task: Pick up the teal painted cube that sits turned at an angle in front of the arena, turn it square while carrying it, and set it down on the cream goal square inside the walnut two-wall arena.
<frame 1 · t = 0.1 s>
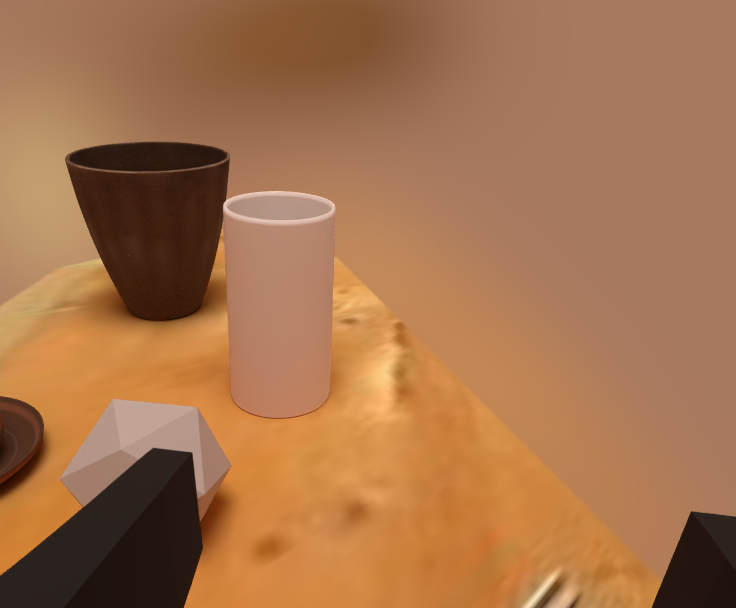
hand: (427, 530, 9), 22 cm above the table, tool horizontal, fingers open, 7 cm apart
die: (156, 524, 38), on the table
cup: (281, 392, 53), on the table
plant pot: (164, 307, 66), on the table
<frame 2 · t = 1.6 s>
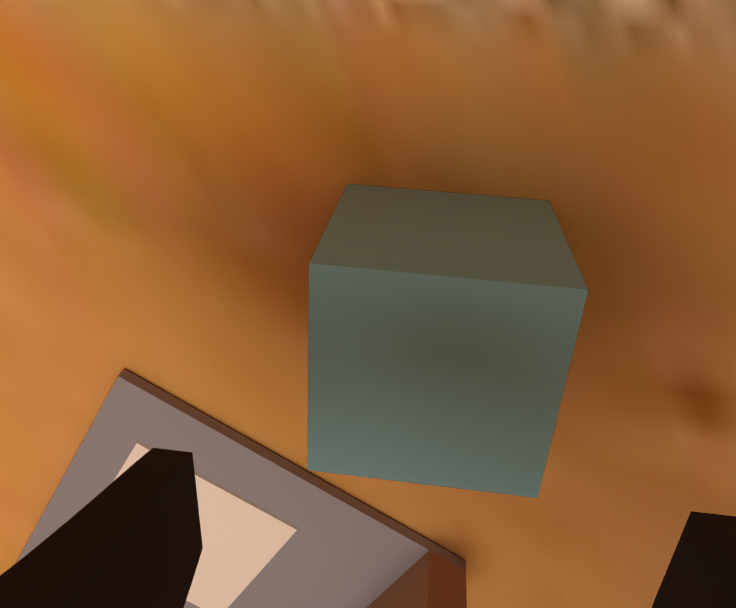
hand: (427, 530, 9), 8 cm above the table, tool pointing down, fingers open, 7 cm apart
arena: (206, 587, 24), on the table
teal cube: (436, 280, 17), on the table
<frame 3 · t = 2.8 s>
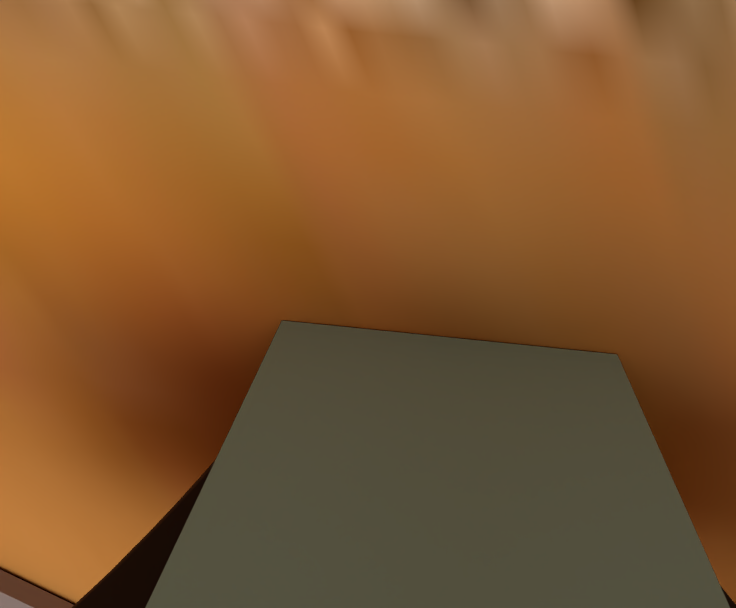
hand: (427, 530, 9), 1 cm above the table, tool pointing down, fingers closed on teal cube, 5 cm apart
teal cube: (429, 463, 10), on the table, touching gripper
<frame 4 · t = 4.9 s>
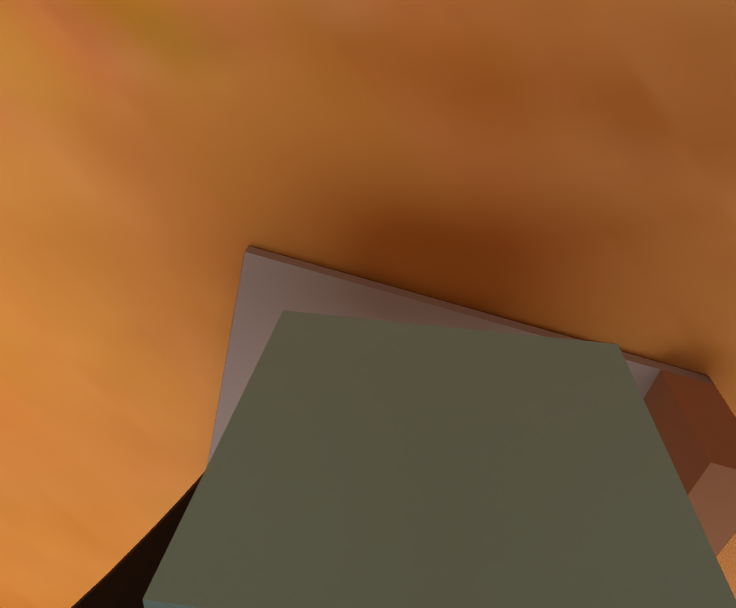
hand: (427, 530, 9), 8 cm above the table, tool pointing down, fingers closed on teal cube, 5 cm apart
arena: (404, 502, 20), on the table
teal cube: (430, 454, 11), point 7 cm above the table, touching gripper
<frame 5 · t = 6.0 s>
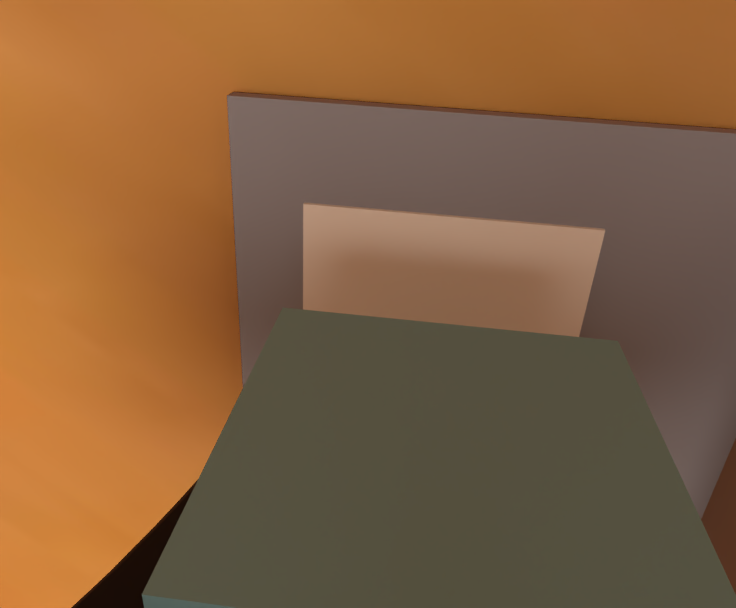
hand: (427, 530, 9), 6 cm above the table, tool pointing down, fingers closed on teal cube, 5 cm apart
arena: (507, 428, 15), on the table
teal cube: (430, 452, 11), point 4 cm above the table, touching gripper
when the fingers open (3 cm above the table, at t = 6.9 s): teal cube drops 1 cm, resting on arena.
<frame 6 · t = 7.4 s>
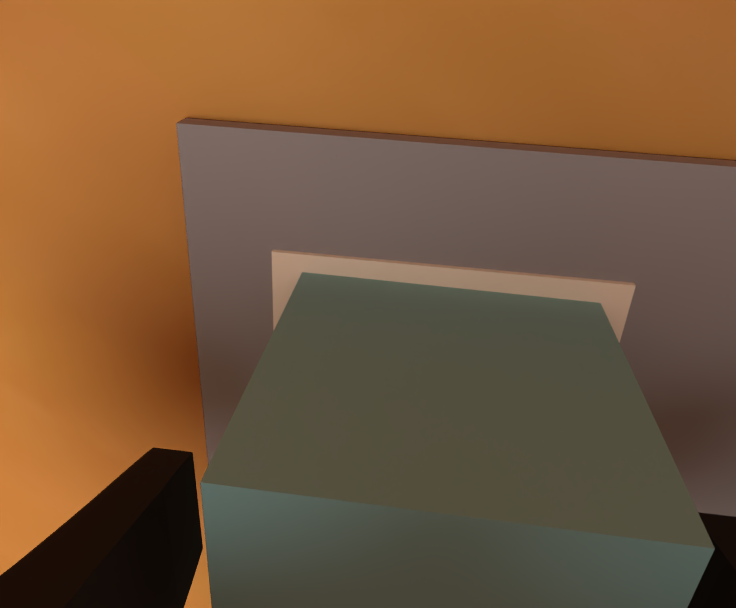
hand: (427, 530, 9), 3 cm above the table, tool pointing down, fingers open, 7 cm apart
arena: (514, 502, 13), on the table
teal cube: (432, 406, 12), resting on arena
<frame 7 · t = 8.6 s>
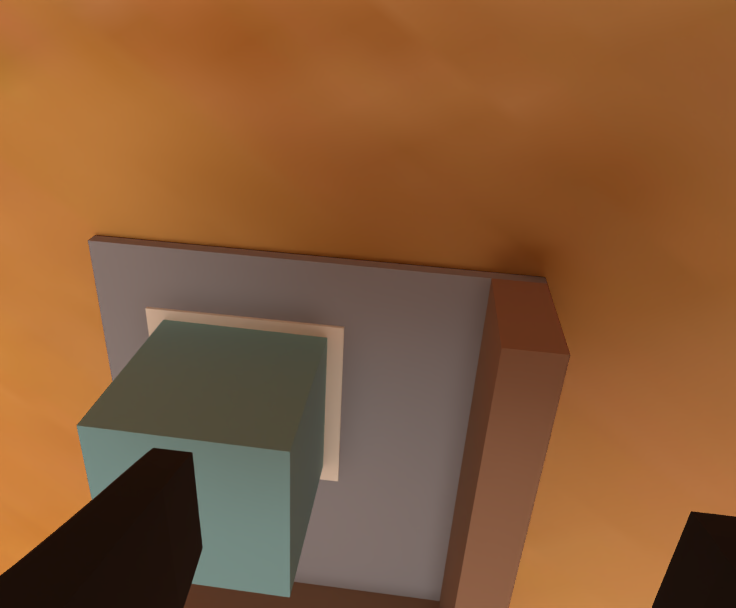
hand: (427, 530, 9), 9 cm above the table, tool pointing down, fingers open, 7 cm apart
arena: (311, 456, 21), on the table
teal cube: (247, 396, 20), resting on arena
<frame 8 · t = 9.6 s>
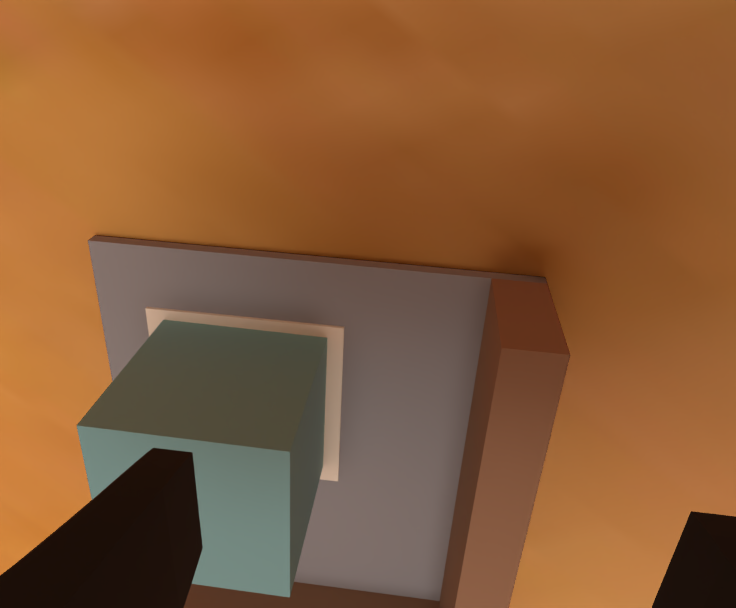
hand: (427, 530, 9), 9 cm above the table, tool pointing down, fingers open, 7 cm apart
arena: (311, 456, 21), on the table
teal cube: (247, 396, 20), resting on arena
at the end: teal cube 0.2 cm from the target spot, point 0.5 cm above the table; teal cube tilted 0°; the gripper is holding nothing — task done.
